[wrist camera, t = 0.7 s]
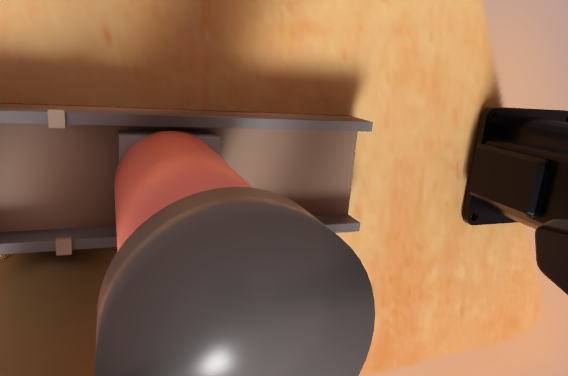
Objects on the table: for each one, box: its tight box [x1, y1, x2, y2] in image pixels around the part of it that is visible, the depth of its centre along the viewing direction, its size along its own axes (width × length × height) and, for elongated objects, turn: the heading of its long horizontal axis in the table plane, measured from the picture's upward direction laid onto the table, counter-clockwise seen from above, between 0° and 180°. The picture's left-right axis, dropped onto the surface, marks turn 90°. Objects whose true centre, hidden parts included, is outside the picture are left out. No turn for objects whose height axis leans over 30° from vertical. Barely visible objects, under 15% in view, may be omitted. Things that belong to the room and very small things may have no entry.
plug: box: [95, 130, 375, 376], centre depth 13 cm, size 5×5×12 cm
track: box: [0, 103, 373, 256], centre depth 18 cm, size 16×5×2 cm, turn 86°
